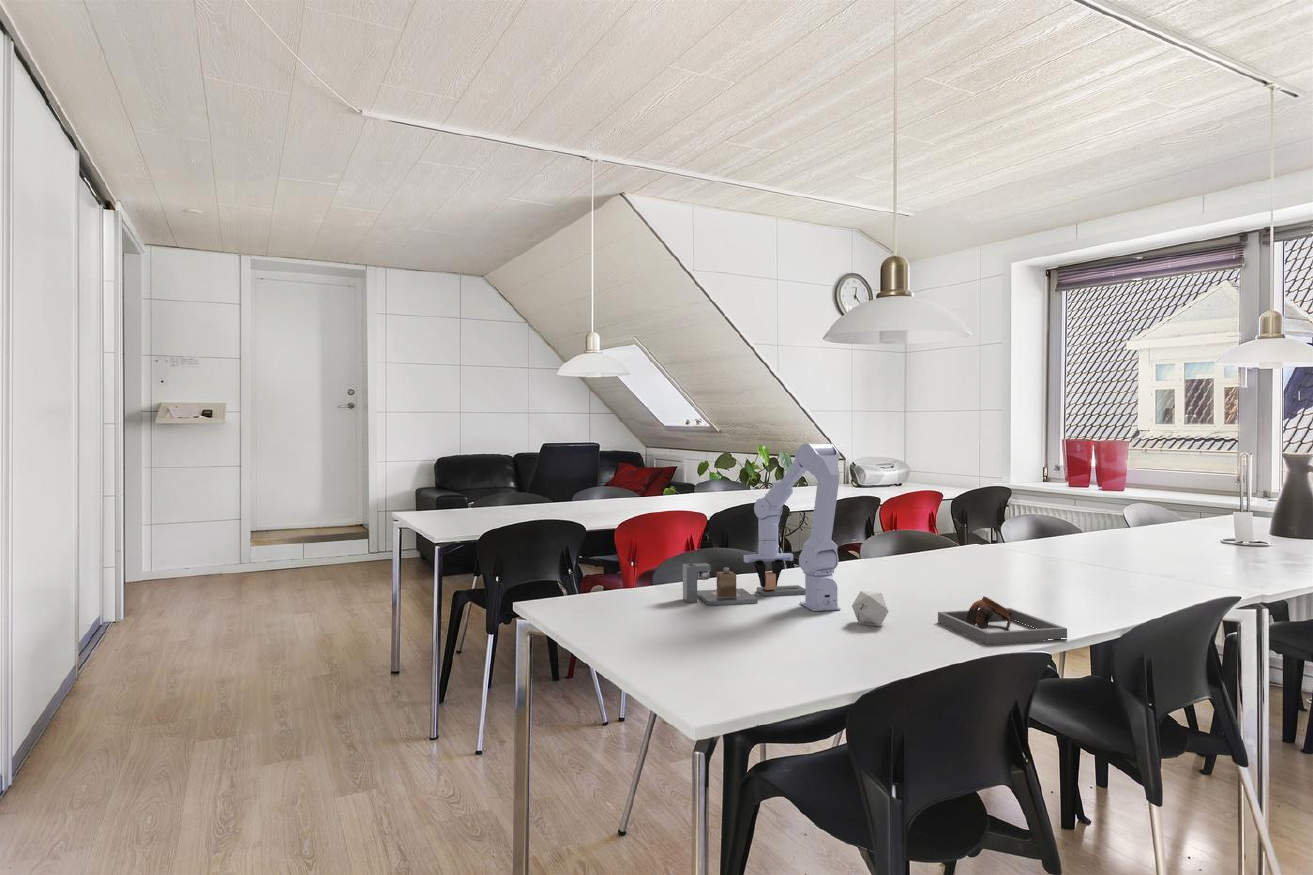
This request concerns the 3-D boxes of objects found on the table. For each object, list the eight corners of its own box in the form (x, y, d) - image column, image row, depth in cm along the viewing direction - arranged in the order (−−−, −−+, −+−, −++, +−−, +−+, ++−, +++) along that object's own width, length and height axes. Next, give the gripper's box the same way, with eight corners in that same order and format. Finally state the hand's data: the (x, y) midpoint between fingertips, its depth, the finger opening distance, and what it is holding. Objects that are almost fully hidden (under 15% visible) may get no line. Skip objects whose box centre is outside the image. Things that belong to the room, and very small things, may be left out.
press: (757, 603, 210) (757, 567, 210) (690, 606, 206) (690, 569, 206) (742, 592, 223) (742, 558, 223) (679, 595, 220) (679, 561, 220)
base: (807, 594, 220) (807, 589, 220) (764, 596, 218) (764, 591, 218) (798, 589, 227) (798, 584, 227) (756, 591, 225) (756, 586, 225)
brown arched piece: (964, 622, 190) (981, 594, 190) (1000, 644, 185) (1018, 615, 185) (957, 620, 180) (975, 590, 180) (995, 644, 175) (1014, 613, 174)
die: (847, 622, 191) (843, 597, 186) (870, 602, 194) (867, 577, 189) (872, 640, 185) (869, 615, 180) (896, 619, 188) (894, 593, 183)
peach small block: (775, 589, 220) (775, 574, 220) (766, 589, 220) (765, 574, 219) (771, 586, 224) (771, 571, 224) (761, 587, 223) (761, 571, 223)
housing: (736, 595, 213) (736, 569, 213) (720, 596, 212) (720, 569, 212) (731, 592, 218) (731, 566, 218) (716, 593, 217) (716, 566, 217)
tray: (1067, 639, 172) (1067, 628, 172) (987, 644, 168) (987, 633, 168) (1010, 617, 192) (1010, 607, 192) (937, 622, 188) (937, 612, 188)
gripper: (787, 536, 227) (787, 582, 227) (740, 538, 224) (740, 584, 224) (795, 540, 220) (796, 587, 220) (747, 542, 217) (748, 589, 217)
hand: (768, 586), depth 222 cm, fingers closed on peach small block, 3 cm apart
